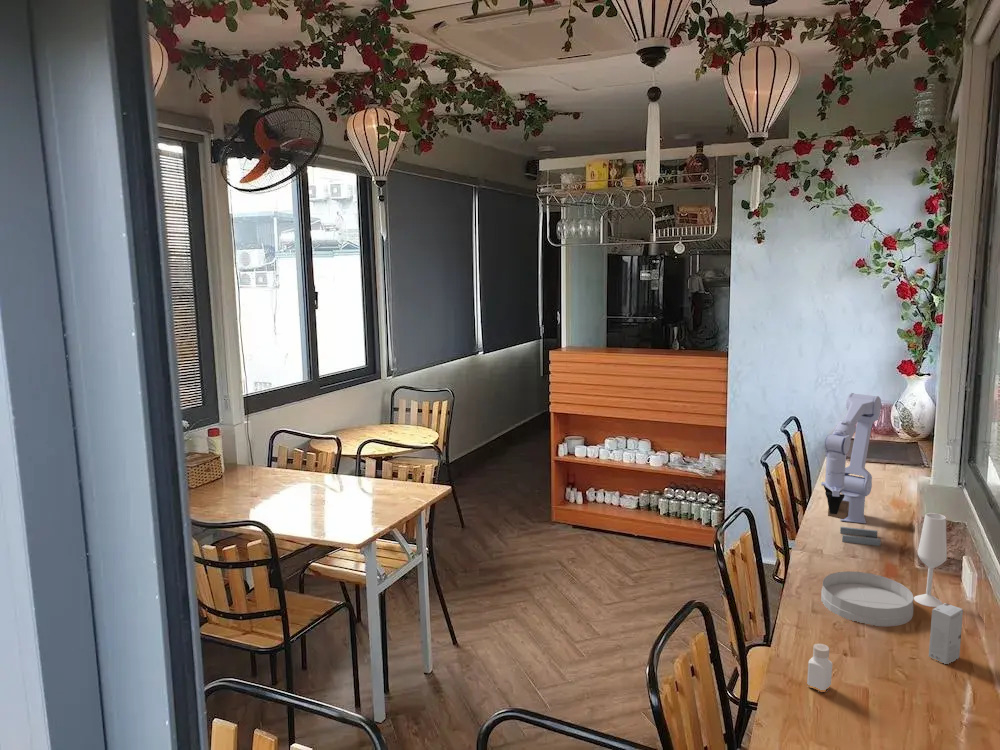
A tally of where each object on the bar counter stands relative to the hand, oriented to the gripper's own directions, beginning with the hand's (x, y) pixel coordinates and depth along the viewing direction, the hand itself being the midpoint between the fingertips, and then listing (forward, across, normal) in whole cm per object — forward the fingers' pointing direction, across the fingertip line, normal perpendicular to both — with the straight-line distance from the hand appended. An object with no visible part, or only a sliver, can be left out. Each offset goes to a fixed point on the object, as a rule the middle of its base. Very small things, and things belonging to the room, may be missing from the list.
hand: (832, 510), depth 243 cm
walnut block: (+2, 0, +2) cm, 2 cm away
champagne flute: (+9, +42, +21) cm, 48 cm away
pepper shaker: (+9, +94, -9) cm, 95 cm away
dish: (+9, +50, +5) cm, 51 cm away
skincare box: (+9, +72, +19) cm, 75 cm away
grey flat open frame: (+8, +1, +8) cm, 12 cm away
